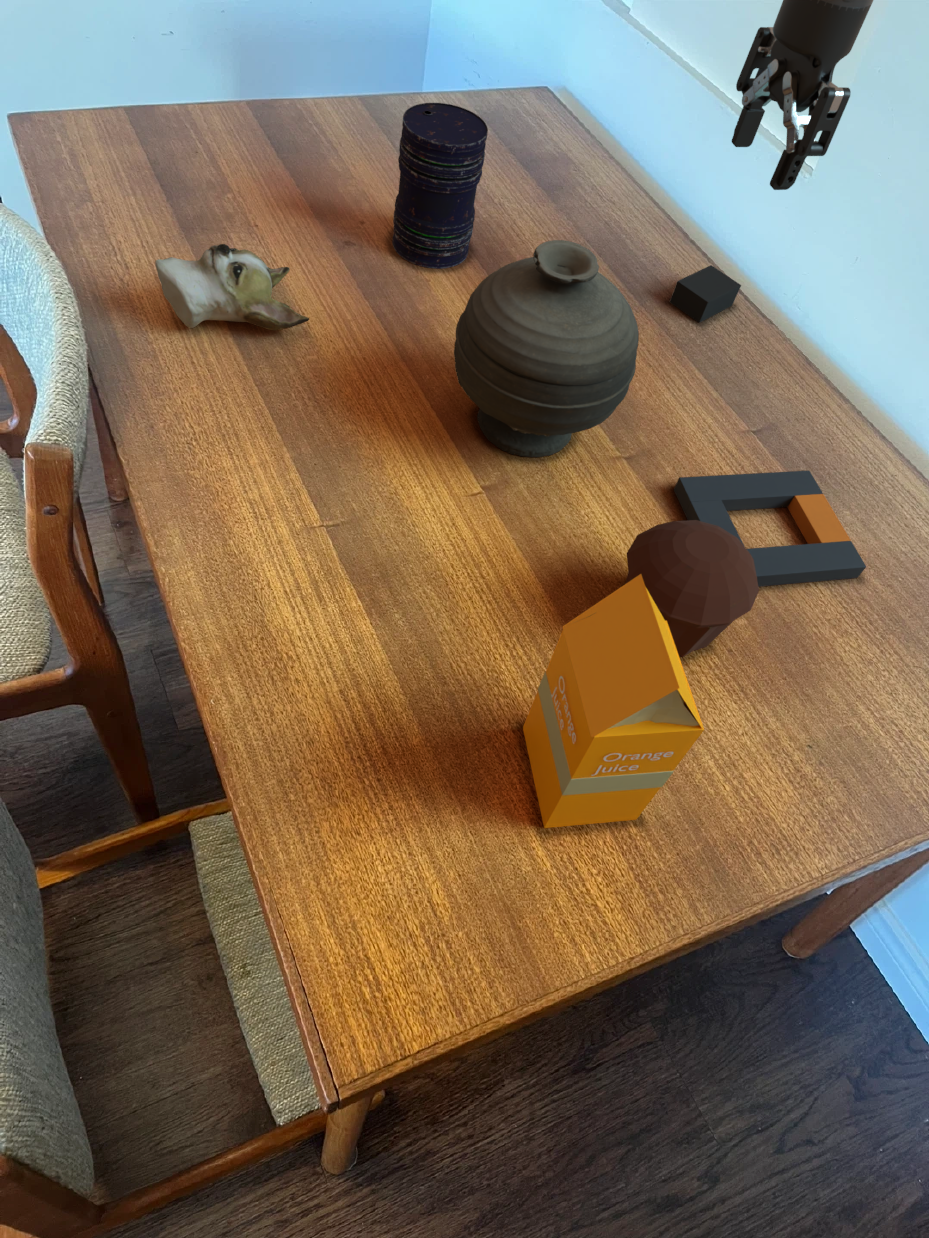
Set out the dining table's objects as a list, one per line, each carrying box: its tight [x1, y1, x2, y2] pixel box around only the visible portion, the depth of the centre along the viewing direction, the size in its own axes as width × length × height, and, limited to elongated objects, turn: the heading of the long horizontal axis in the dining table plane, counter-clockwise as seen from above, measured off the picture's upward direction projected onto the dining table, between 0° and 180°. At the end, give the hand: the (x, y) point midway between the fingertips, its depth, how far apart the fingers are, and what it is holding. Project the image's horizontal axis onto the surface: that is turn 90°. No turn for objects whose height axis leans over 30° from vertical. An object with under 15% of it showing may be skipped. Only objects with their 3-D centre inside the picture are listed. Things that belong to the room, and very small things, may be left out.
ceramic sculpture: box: [154, 243, 310, 331], centre depth 93 cm, size 11×9×15 cm
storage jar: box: [391, 102, 489, 270], centre depth 104 cm, size 10×10×15 cm
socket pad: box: [673, 470, 867, 588], centre depth 88 cm, size 15×13×2 cm
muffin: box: [624, 520, 760, 658], centre depth 77 cm, size 12×11×10 cm
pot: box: [453, 239, 640, 458], centre depth 85 cm, size 18×18×20 cm
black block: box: [669, 264, 742, 324], centre depth 110 cm, size 7×5×3 cm
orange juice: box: [522, 574, 705, 829], centre depth 62 cm, size 8×9×20 cm
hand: (759, 166), depth 91 cm, fingers open, 8 cm apart
